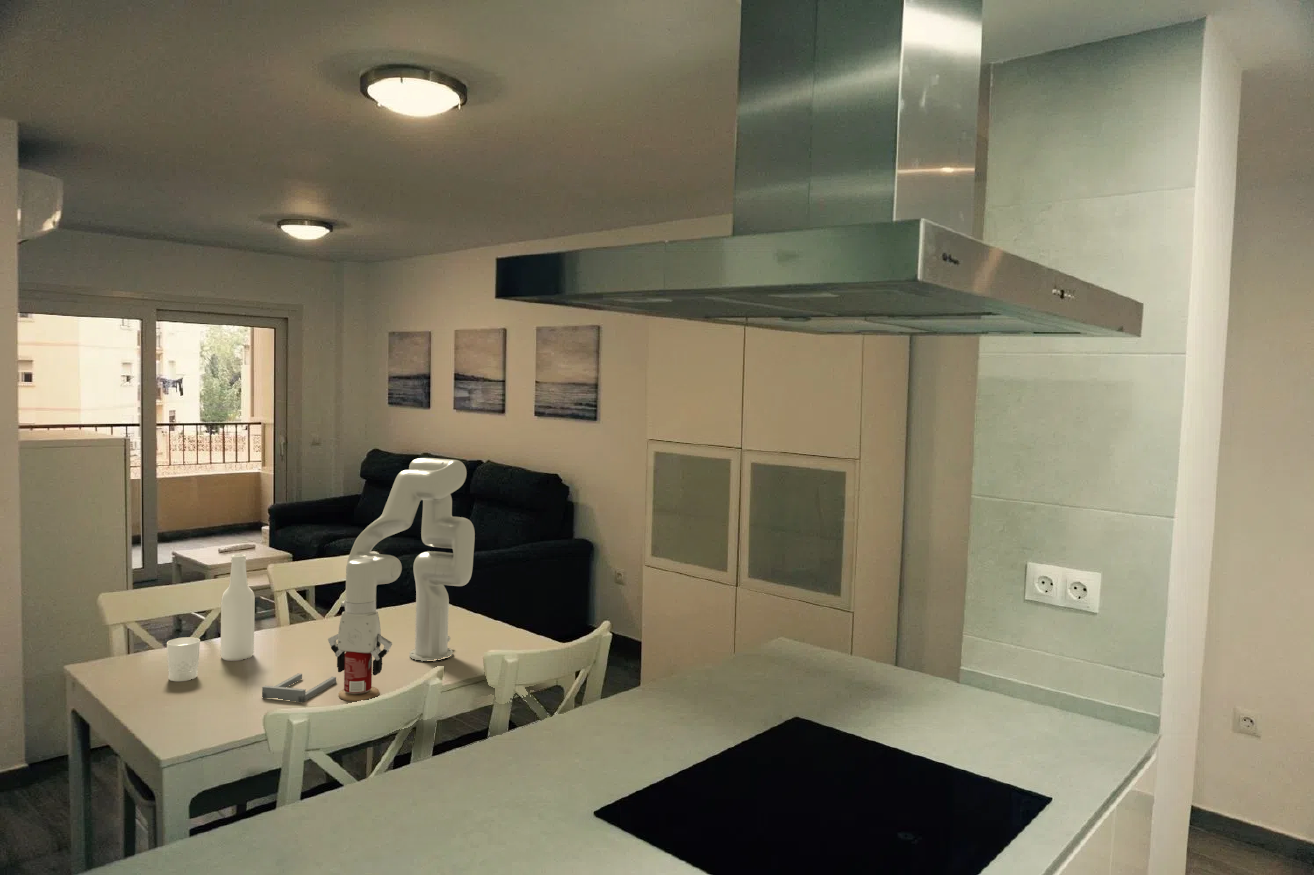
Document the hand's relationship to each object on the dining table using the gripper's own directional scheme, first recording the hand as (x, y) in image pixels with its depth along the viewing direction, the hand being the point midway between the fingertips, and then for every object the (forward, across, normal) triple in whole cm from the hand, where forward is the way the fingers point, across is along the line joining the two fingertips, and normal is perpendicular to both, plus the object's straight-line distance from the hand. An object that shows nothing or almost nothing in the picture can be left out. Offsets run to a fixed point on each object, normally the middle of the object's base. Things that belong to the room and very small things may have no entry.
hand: (359, 672), depth 224 cm
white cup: (+6, -51, 0) cm, 51 cm away
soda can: (+5, 0, 0) cm, 6 cm away
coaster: (+6, 0, 0) cm, 6 cm away
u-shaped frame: (+6, -16, -1) cm, 17 cm away
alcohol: (+6, -49, +20) cm, 53 cm away
